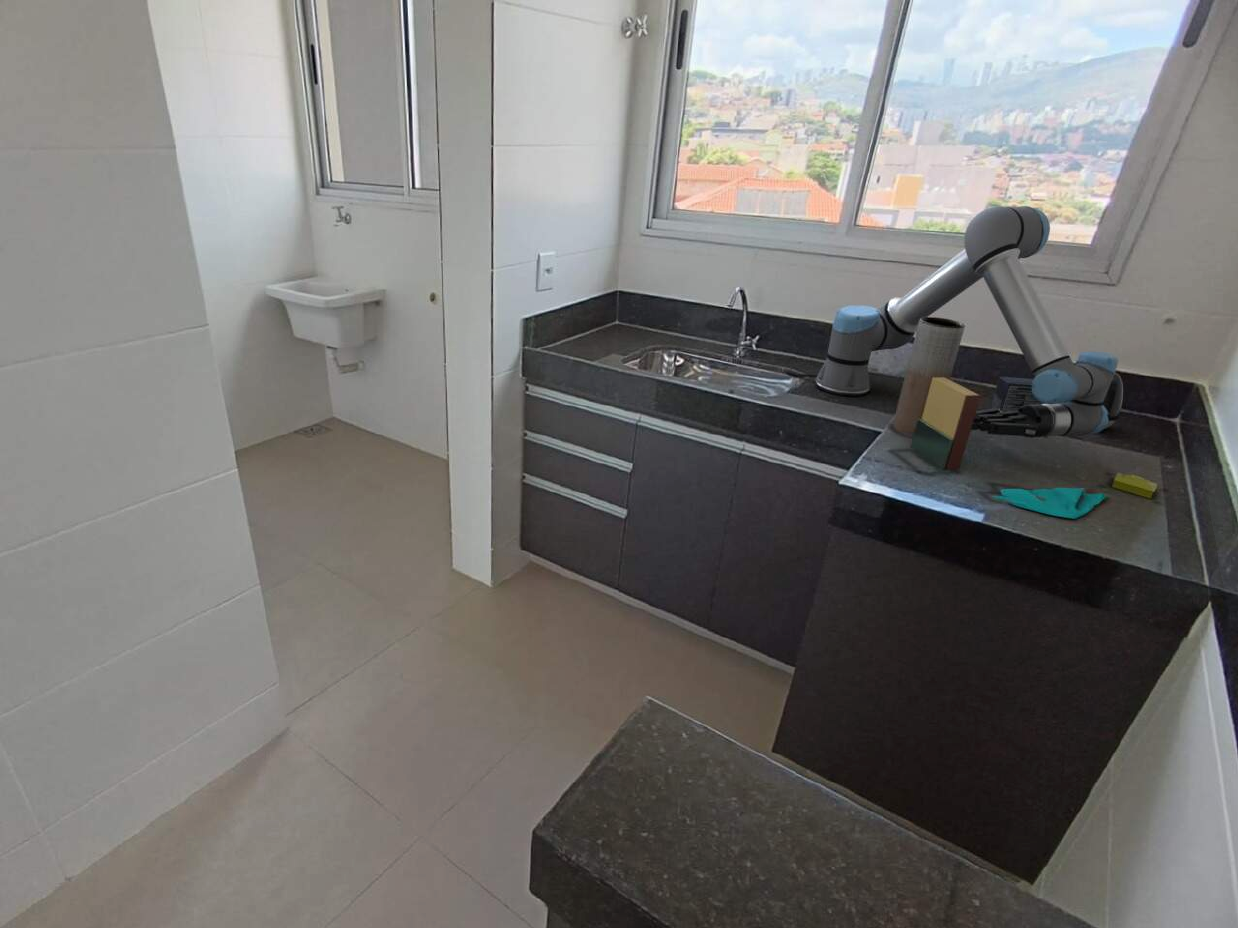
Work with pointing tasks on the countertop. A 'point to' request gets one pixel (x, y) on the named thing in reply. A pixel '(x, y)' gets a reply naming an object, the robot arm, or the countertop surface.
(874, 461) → the countertop surface
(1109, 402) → the black rounded dome
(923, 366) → the vase
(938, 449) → the bookend
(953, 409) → the book
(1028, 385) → the small box
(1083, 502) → the cloth
